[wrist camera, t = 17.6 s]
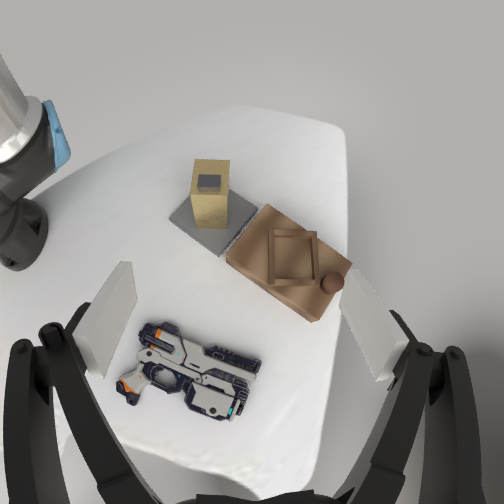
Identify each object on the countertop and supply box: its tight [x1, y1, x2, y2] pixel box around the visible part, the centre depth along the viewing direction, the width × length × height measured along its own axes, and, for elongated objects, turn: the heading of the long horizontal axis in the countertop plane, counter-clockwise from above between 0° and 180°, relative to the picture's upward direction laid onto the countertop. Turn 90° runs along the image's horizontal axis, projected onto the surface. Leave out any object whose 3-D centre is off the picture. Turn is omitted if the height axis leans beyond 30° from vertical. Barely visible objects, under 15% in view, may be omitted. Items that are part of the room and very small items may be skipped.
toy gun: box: [116, 322, 262, 422], centre depth 38 cm, size 3×20×15 cm
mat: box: [169, 189, 257, 257], centre depth 48 cm, size 11×11×1 cm
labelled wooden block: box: [190, 159, 230, 229], centre depth 42 cm, size 5×6×12 cm
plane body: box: [226, 204, 352, 322], centre depth 43 cm, size 17×11×6 cm
